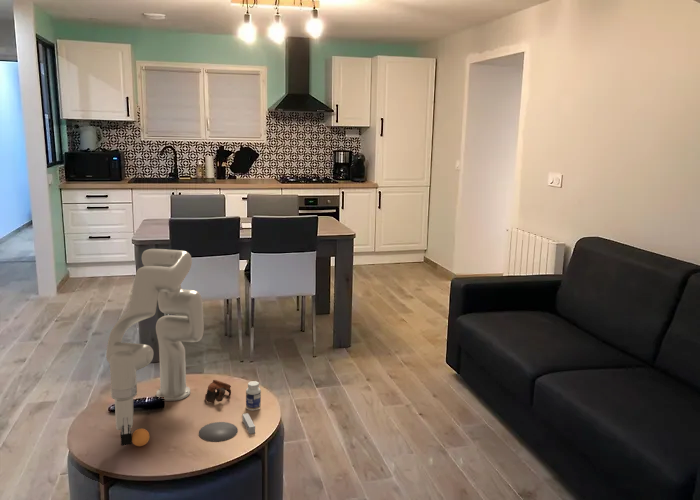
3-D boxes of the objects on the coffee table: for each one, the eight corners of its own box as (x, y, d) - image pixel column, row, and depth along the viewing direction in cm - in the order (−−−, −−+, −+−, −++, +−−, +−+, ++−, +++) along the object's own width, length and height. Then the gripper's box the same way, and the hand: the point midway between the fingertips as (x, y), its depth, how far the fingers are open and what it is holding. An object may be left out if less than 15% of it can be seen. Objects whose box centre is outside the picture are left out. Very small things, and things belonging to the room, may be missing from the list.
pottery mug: (200, 398, 222) (208, 377, 224) (222, 404, 226) (229, 384, 228) (208, 403, 211) (217, 381, 213) (231, 410, 215) (239, 388, 217)
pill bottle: (243, 407, 214) (243, 382, 213) (255, 402, 218) (255, 379, 216) (251, 412, 211) (251, 387, 209) (263, 408, 214) (263, 383, 212)
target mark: (196, 425, 200) (196, 425, 200) (234, 420, 204) (234, 419, 204) (201, 444, 188) (201, 443, 188) (241, 438, 193) (240, 437, 193)
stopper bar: (242, 420, 204) (242, 414, 204) (248, 419, 205) (248, 413, 205) (249, 434, 196) (249, 427, 195) (255, 433, 196) (255, 426, 196)
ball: (131, 442, 188) (130, 426, 187) (149, 439, 190) (148, 424, 189) (131, 450, 183) (131, 435, 182) (150, 448, 185) (149, 432, 184)
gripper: (111, 382, 186) (113, 434, 190) (111, 402, 173) (113, 458, 176) (135, 379, 189) (137, 430, 193) (137, 399, 175) (139, 453, 179)
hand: (126, 443), depth 184 cm, fingers closed
